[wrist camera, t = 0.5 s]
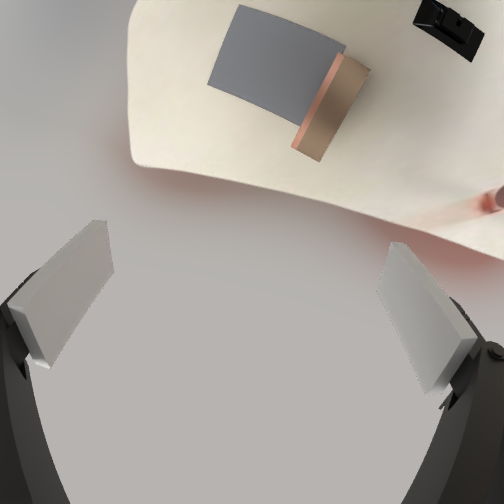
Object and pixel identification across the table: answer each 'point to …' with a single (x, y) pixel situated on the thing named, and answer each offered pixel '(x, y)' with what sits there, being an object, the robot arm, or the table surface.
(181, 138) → the table surface
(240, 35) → the felt mat
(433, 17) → the black notched bracket mount
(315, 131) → the mottled brown tile
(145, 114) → the table surface
